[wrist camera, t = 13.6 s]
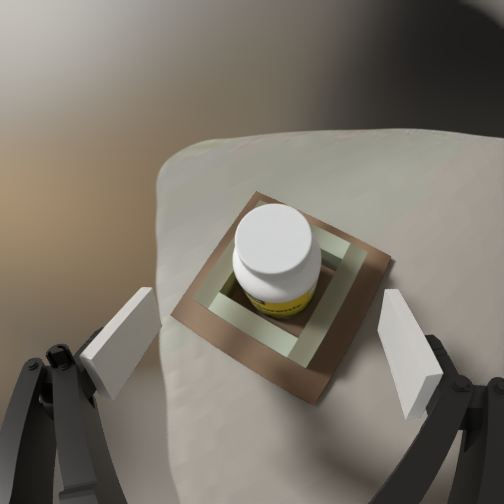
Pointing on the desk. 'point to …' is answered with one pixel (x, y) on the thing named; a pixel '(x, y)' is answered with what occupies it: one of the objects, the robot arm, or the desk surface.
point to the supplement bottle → (277, 260)
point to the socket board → (292, 329)
